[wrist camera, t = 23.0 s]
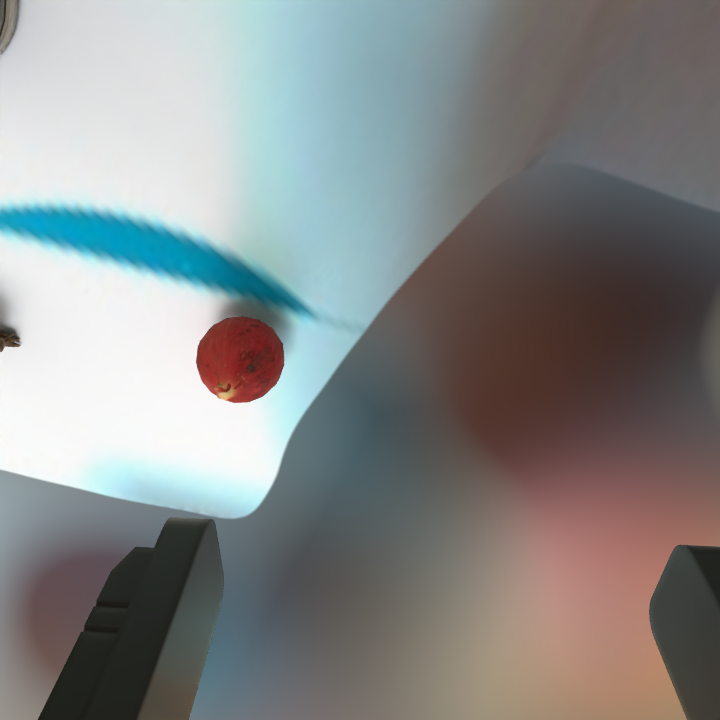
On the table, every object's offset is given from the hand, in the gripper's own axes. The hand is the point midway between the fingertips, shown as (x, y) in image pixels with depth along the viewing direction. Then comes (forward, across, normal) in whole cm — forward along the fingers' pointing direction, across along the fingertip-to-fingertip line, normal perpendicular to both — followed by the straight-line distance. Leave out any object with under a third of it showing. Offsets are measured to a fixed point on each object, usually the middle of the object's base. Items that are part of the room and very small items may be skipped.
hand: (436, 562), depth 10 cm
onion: (+30, +11, +13) cm, 35 cm away
